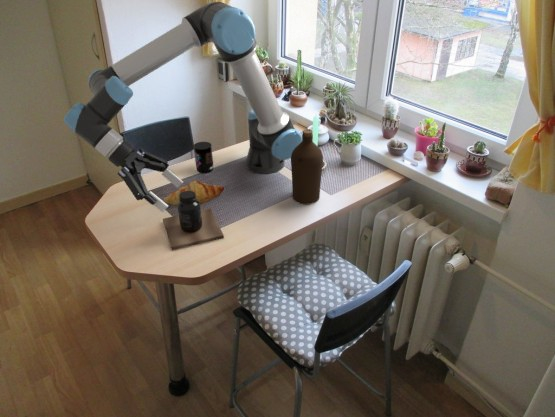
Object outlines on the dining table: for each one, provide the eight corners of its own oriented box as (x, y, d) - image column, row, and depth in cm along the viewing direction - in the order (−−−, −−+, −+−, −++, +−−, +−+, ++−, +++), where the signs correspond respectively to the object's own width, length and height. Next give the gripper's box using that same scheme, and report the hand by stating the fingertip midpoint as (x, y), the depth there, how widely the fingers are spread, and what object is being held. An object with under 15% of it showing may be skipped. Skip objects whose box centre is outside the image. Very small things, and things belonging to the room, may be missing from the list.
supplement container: (201, 164, 181) (198, 140, 175) (216, 167, 179) (214, 142, 173) (193, 172, 175) (190, 148, 170) (209, 175, 174) (206, 150, 168)
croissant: (167, 217, 157) (165, 206, 150) (161, 193, 161) (159, 181, 154) (227, 204, 162) (228, 192, 155) (219, 181, 167) (220, 168, 160)
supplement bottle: (207, 227, 144) (203, 194, 137) (188, 236, 140) (183, 203, 133) (194, 218, 148) (190, 186, 141) (176, 226, 144) (171, 194, 137)
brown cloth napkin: (211, 211, 153) (210, 208, 152) (223, 238, 141) (223, 235, 140) (162, 221, 148) (162, 218, 148) (171, 250, 136) (171, 247, 135)
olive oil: (322, 205, 155) (326, 137, 141) (291, 206, 155) (291, 138, 141) (319, 189, 164) (322, 123, 150) (290, 189, 164) (290, 124, 150)
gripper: (127, 138, 144) (179, 182, 150) (88, 177, 123) (150, 227, 129) (140, 123, 140) (193, 169, 146) (102, 161, 119) (165, 212, 126)
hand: (173, 196), depth 138 cm, fingers open, 13 cm apart
